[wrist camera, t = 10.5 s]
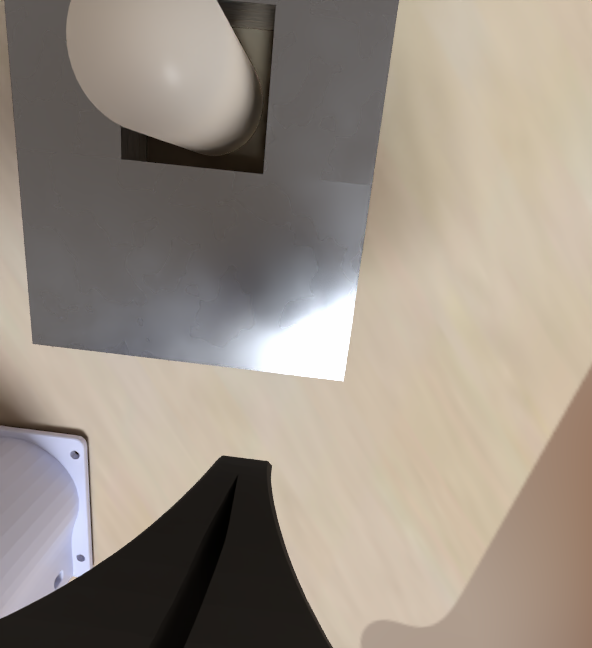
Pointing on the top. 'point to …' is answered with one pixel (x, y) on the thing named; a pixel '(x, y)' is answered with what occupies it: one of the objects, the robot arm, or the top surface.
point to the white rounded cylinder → (166, 70)
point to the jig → (204, 201)
